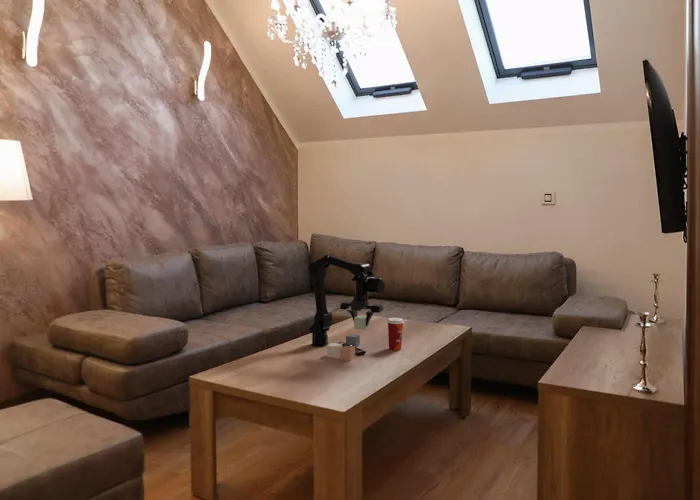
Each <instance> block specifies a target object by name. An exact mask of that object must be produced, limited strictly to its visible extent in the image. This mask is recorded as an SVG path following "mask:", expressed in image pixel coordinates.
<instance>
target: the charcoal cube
mask: <svg viewBox="0 0 700 500" xmlns="http://www.w3.org/2000/svg"><path fill="white" fill-rule="evenodd" d="M360 341H361V339H360V334H354V333H349V334H347V335H345V344H346V343H347V344H349V345H352V346H355V347H356V348H357V347H359V346H360Z"/></svg>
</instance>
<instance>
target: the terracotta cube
mask: <svg viewBox="0 0 700 500" xmlns="http://www.w3.org/2000/svg"><path fill="white" fill-rule="evenodd" d="M354 359H356V348H355V347H351V346H346V345H344V346H343V345H342V348H340V357H339V360H340V361H347V362H352V361H353V360H354Z"/></svg>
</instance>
